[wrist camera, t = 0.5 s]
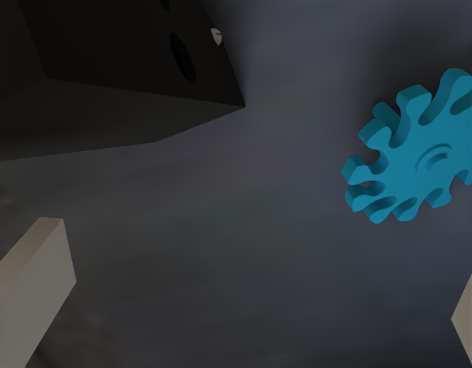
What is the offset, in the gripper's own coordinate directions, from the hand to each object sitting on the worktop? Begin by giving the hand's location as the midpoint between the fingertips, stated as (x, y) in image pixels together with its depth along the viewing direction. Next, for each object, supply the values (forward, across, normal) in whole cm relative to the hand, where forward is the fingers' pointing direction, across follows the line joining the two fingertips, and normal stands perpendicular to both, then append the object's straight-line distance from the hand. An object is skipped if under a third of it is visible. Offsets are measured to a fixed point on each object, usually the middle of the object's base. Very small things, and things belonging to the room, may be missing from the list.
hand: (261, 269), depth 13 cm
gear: (+15, -10, +1) cm, 18 cm away
